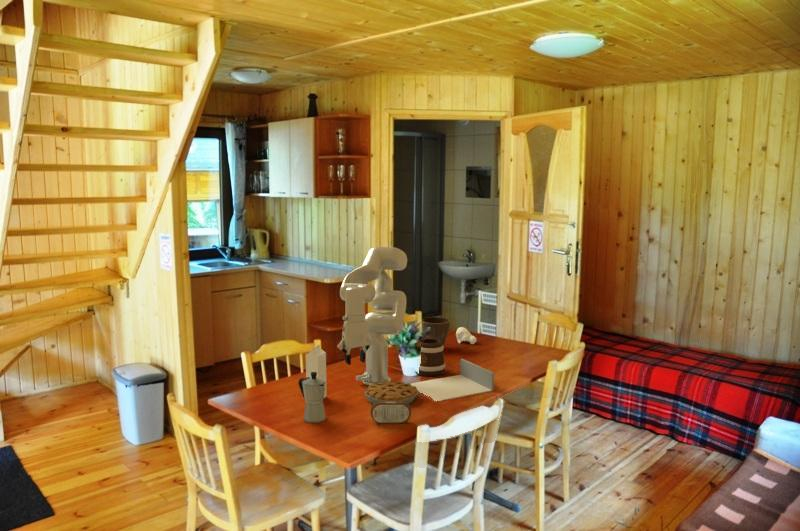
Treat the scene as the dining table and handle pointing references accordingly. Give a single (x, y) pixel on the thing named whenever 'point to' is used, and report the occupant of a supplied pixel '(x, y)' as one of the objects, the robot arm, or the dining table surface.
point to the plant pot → (437, 328)
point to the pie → (391, 392)
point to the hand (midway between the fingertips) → (355, 362)
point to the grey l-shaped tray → (458, 383)
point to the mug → (432, 358)
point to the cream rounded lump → (464, 335)
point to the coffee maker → (313, 398)
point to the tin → (390, 411)
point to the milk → (316, 364)
